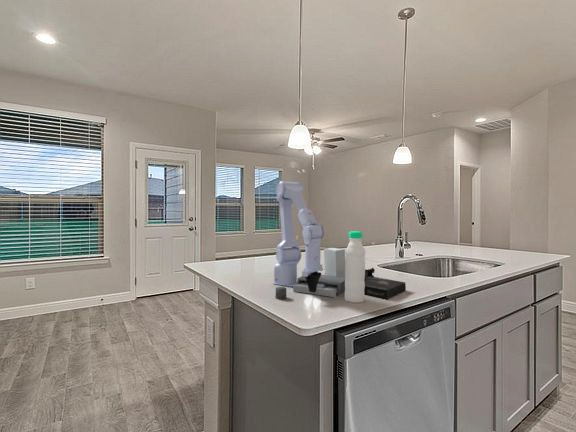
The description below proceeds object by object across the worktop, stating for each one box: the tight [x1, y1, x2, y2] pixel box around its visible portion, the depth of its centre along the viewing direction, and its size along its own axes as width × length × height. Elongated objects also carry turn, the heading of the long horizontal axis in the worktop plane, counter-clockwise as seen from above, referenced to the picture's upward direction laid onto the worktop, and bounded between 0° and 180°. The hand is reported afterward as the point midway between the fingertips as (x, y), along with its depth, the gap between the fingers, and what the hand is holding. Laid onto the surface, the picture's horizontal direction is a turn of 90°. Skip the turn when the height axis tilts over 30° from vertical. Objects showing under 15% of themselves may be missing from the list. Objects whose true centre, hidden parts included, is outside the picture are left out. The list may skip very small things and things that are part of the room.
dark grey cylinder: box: [275, 286, 287, 300], centre depth 118 cm, size 4×4×4 cm
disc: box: [317, 283, 325, 289], centre depth 126 cm, size 6×6×2 cm
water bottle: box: [344, 230, 366, 304], centre depth 114 cm, size 7×7×25 cm
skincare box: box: [323, 247, 346, 278], centre depth 142 cm, size 8×6×15 cm
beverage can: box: [365, 267, 376, 277], centre depth 144 cm, size 9×8×12 cm
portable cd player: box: [364, 276, 407, 301], centre depth 128 cm, size 16×17×4 cm
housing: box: [297, 274, 346, 296], centre depth 130 cm, size 18×11×4 cm, turn 62°
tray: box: [292, 281, 338, 298], centre depth 126 cm, size 18×11×2 cm, turn 62°
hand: (312, 291), depth 121 cm, fingers closed
